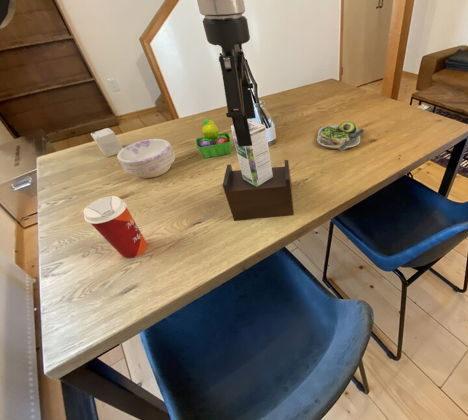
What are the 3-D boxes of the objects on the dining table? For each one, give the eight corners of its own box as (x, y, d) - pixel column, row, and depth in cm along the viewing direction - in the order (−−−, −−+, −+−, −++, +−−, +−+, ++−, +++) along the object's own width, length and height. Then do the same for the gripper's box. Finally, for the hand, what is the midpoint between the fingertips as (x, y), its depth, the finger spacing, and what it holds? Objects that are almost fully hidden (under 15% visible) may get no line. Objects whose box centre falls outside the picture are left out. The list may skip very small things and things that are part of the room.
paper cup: (157, 248, 67) (128, 205, 57) (123, 267, 63) (86, 224, 53) (144, 232, 71) (116, 189, 61) (111, 249, 67) (75, 206, 57)
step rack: (293, 215, 75) (289, 179, 67) (233, 220, 74) (222, 185, 66) (291, 182, 86) (287, 148, 78) (239, 186, 85) (229, 152, 76)
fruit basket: (201, 161, 96) (190, 131, 88) (199, 149, 102) (189, 119, 94) (234, 154, 99) (226, 124, 91) (231, 143, 105) (223, 114, 97)
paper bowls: (154, 154, 99) (145, 134, 94) (188, 162, 95) (180, 141, 89) (117, 177, 89) (104, 156, 83) (153, 188, 84) (142, 166, 79)
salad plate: (363, 155, 97) (364, 144, 94) (313, 153, 99) (312, 141, 96) (363, 130, 112) (364, 119, 108) (320, 128, 113) (319, 117, 110)
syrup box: (242, 179, 71) (228, 125, 61) (260, 169, 74) (249, 117, 64) (256, 187, 68) (244, 133, 58) (274, 177, 71) (265, 124, 61)
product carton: (125, 151, 101) (114, 132, 96) (107, 157, 98) (95, 138, 93) (119, 145, 104) (108, 127, 99) (101, 151, 101) (89, 133, 96)
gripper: (239, 27, 39) (263, 158, 53) (250, 6, 57) (266, 108, 71) (184, 29, 38) (223, 161, 52) (213, 7, 56) (236, 109, 71)
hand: (247, 130), depth 62 cm, fingers open, 13 cm apart
